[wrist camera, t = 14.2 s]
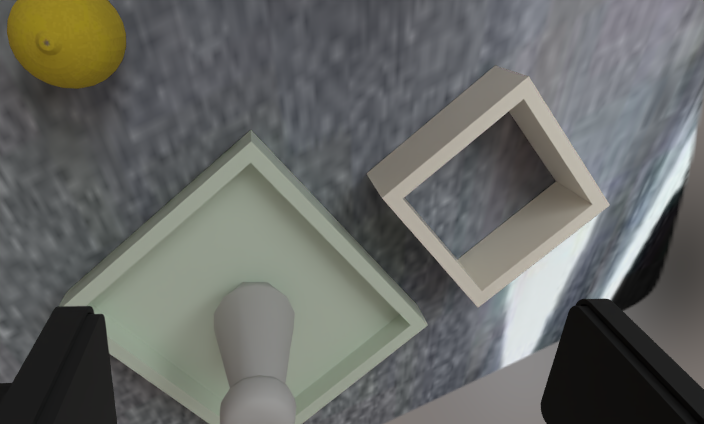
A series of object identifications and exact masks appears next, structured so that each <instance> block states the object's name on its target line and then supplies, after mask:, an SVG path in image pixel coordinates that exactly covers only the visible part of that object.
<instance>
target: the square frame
mask: <svg viewBox="0 0 704 424" xmlns="http://www.w3.org/2000/svg"><path fill="white" fill-rule="evenodd" d="M508 111H509V112H510V114H511V115H512V117H513V118H514V120H515V121H516V123H517V124H518V126H519V127H520V129H521V130H522V132H523V133H524V135H525V136H526V138H527V139H528V141H529V142H530V144H531V145H532V147H533V148H534V150H535V151H536V153H537V154H538V156H539V157H540V158H541V160H542V161H543V163H544V164H545V166H546V167H547V169H548V170H549V172H550V173H551V175H552V176H553V178H554V179H555V181H556V182H555V183H553V184H552V185H551V186H550V187H548V188H547V189H546V190H544V191H543V192H542V193H541V194H539V195H538V196H537V197H536V198H534V199H533V200H532V201H531V202H529V203H528V204H527V205H526V206H524V207H523V208H522V209H521V210H519V211H518V212H517V213H516V214H514V215H513V216H512V217H511V218H509V219H508V220H507V221H505V222H504V223H503V224H502V225H500V226H499V227H498V228H497V229H495V230H494V231H493V232H492V233H490V234H489V235H488V236H487V237H485V238H484V239H483V240H482V241H480V242H479V243H478V244H477V245H475V246H474V247H473V248H471V249H470V250H469V251H468V252H466V253H465V254H464V255H463V256H461V257H460V258H459V259H458V260H457V259H456V257H455V256H454V255H453V254H452V253H451V252H450V250H449V249H448V248H447V247H446V246H445V245H444V243H443V242H442V241H441V240H440V239H439V237H438V236H437V235H436V234H435V233H434V232H433V230H432V229H431V228H430V227H429V226H428V225H427V223H426V222H425V221H424V220H423V219H422V218H421V216H420V215H419V214H418V213H417V212H416V210H415V209H414V208H413V207H412V206H411V205H410V203H409V202H408V201H407V200H406V199H405V198H404V197H405V196H407V195H408V194H409V193H410V192H411V191H413V190H414V189H415V188H416V187H417V186H419V185H420V184H421V183H422V182H424V181H425V180H426V179H427V178H428V177H430V176H431V175H432V174H433V173H434V172H436V171H437V170H438V169H439V168H441V167H442V166H443V165H444V164H445V163H447V162H448V161H449V160H450V159H451V158H453V157H454V156H455V155H456V154H458V153H459V152H460V151H461V150H462V149H464V148H465V147H466V146H467V145H468V144H470V143H471V142H472V141H473V140H475V139H476V138H477V137H478V136H479V135H481V134H482V133H483V132H484V131H485V130H487V129H488V128H489V127H490V126H491V125H493V124H494V123H495V122H496V121H498V120H499V119H500V118H501V117H502V116H504V115H505V114H506V113H507V112H508ZM367 176H368V177H369V179H370V180H371V182H372V183H373V185H374V186H375V188H376V190H377V191H378V193H379V194H380V196H381V197H382V199H383V200H384V201H385V202H386V203H387V204H388V206H389V207H390V208H391V209H392V210H393V211H394V212H395V214H396V215H397V216H398V217H399V218H400V219H401V220H402V222H403V223H404V224H405V225H406V226H407V227H408V228H409V229H410V231H411V232H412V233H413V234H414V235H415V236H416V237H417V239H418V240H419V241H420V242H421V243H422V244H423V245H424V247H425V248H426V249H427V250H428V251H429V252H430V253H431V255H432V256H433V257H434V258H435V259H436V260H437V261H438V263H439V264H440V265H441V266H442V267H443V268H444V269H445V271H446V272H447V273H448V274H449V275H450V276H451V277H452V278H453V280H454V281H455V282H456V283H457V284H458V285H459V286H460V288H461V289H462V290H463V291H464V292H465V293H466V294H467V296H468V297H469V298H470V299H471V300H472V301H473V302H474V304H475V305H476V306H477V307H480V306H481V305H482V304H483V303H485V302H486V301H487V300H489V299H490V298H491V297H492V296H494V295H495V294H496V293H498V292H499V291H500V290H501V289H503V288H504V287H505V286H507V285H508V284H509V283H510V282H512V281H513V280H514V279H516V278H517V277H518V276H519V275H521V274H522V273H523V272H525V271H526V270H527V269H528V268H530V267H531V266H532V265H534V264H535V263H536V262H537V261H539V260H540V259H541V258H543V257H544V256H545V255H546V254H548V253H549V252H550V251H552V250H553V249H554V248H555V247H557V246H558V245H559V244H561V243H562V242H563V241H564V240H566V239H567V238H568V237H570V236H571V235H572V234H573V233H575V232H576V231H577V230H579V229H580V228H581V227H582V226H584V225H585V224H586V223H588V222H589V221H590V220H591V219H593V218H594V217H595V216H597V215H598V214H599V213H600V212H602V211H603V210H604V209H606V208H607V207H608V206H609V203H608V201H607V200H606V198H605V197H604V195H603V194H602V192H601V190H600V189H599V187H598V186H597V184H596V182H595V181H594V179H593V178H592V176H591V175H590V173H589V171H588V170H587V168H586V167H585V165H584V163H583V162H582V160H581V159H580V157H579V155H578V154H577V152H576V151H575V149H574V148H573V146H572V144H571V143H570V141H569V140H568V138H567V136H566V135H565V133H564V132H563V130H562V129H561V127H560V125H559V124H558V122H557V121H556V119H555V117H554V116H553V114H552V113H551V111H550V109H549V108H548V106H547V105H546V103H545V102H544V100H543V98H542V97H541V95H540V94H539V92H538V90H537V89H536V87H535V86H534V84H533V83H532V81H531V79H530V78H529V76H526V75H523V74H520V73H517V72H514V71H511V70H508V69H505V68H501V67H498V66H494V67H493V68H492V69H490V70H489V71H488V72H487V73H486V74H485V75H483V76H482V77H481V78H480V79H479V80H477V81H476V82H475V83H474V84H473V85H471V86H470V87H469V88H468V89H467V90H465V91H464V92H463V93H462V94H461V95H459V96H458V97H457V98H456V99H455V100H454V101H452V102H451V103H450V104H449V105H448V106H446V107H445V108H444V109H443V110H442V111H440V112H439V113H438V114H437V115H436V116H434V117H433V118H432V119H431V120H430V121H429V122H427V123H426V124H425V125H424V126H423V127H421V128H420V129H419V130H418V131H417V132H415V133H414V134H413V135H412V136H411V137H409V138H408V139H407V140H406V141H405V142H403V143H402V144H401V145H400V146H399V147H398V148H396V149H395V150H394V151H393V152H392V153H390V154H389V155H388V156H387V157H386V158H384V159H383V160H382V161H381V162H380V163H378V164H377V165H376V166H375V167H374V168H373V169H371V170H370V171H369V172H368V173H367Z"/></svg>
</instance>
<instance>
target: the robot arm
mask: <svg viewBox="0 0 704 424" xmlns="http://www.w3.org/2000/svg"><path fill="white" fill-rule="evenodd" d="M541 412H542V415H543V418H544V420H545V422H546V423H547V424H704V389H703V388H701V386H699V385H698V384H697V383H696V382H695V381H694V380H693V379H692V378H691V377H690V376H689V375H688V374H687V373H686V372H685V371H684V370H683V369H682V368H681V367H680V366H679V365H678V364H677V363H676V362H675V361H674V360H673V359H672V358H671V357H669V356H668V355H667V354H666V353H665V352H664V351H663V350H662V349H661V348H660V347H659V346H658V345H657V344H656V343H655V342H654V341H653V340H652V339H651V338H650V337H649V336H648V335H647V334H646V333H645V332H644V331H642V330H641V329H640V328H639V327H638V326H637V325H636V324H635V323H634V322H633V321H632V320H631V319H630V318H629V317H628V316H627V315H626V314H625V313H624V312H623V311H622V310H621V309H620V308H619V307H618V306H617V305H616V304H615V303H614V302H612V301H611V300H609V299H582V300H579V301H578V302H577V304H576V306H573V307H572V308H571V309H570V311H569V313H568V316H567V319H566V323H565V326H564V329H563V332H562V335H561V339H560V342H559V345H558V348H557V352H556V355H555V359H554V362H553V365H552V368H551V371H550V374H549V377H548V381H547V384H546V387H545V390H544V394H543V397H542V400H541ZM0 424H117V418H116V410H115V401H114V392H113V383H112V375H111V366H110V357H109V349H108V340H107V331H106V322H105V317H104V315H103V314H94V310H93V308H92V307H91V306H58V307H56V308H55V309H54V311H53V312H52V314H51V316H50V318H49V319H48V321H47V323H46V325H45V326H44V328H43V330H42V332H41V333H40V335H39V337H38V339H37V340H36V342H35V344H34V346H33V348H32V349H31V351H30V353H29V355H28V356H27V358H26V360H25V362H24V363H23V365H22V367H21V369H20V370H19V372H18V374H17V376H16V377H15V379H14V381H13V383H0Z"/></svg>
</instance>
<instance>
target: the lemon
mask: <svg viewBox="0 0 704 424" xmlns="http://www.w3.org/2000/svg"><path fill="white" fill-rule="evenodd" d="M7 35H8V40H9V44H10V47H11V49H12V51H13V53H14V55H15V57H16V59H17V60H18V61H19V62H20V64H21V65H22V66H23V67H24V68H25V69H26V70H27V71H28V72H29V73H31V74H32V75H33V76H34V77H36V78H38V79H40V80H42V81H44V82H46V83H48V84H51V85H54V86H58V87H62V88H77V89H79V88H84V87H89V86H94V85H96V84H98V83H100V82H102V81H104V80H106V79H107V78H108V77H109V76H110V75H112V74H113V73H114V72H115V71H116V70H117V68H118V66H119V65H120V63H121V61H122V60H123V57H124V53H125V49H126V33H125V29H124V25H123V22H122V20H121V18H120V16H119V14H118V12H117V11H116V9H115V8H114V7H113V6H112V5H111V3H110V2H109V1H108V0H17V1H16V3H15V4H14V5H13V7H12V9H11V12H10V15H9V18H8V23H7Z"/></svg>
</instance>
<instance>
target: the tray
mask: <svg viewBox="0 0 704 424" xmlns="http://www.w3.org/2000/svg"><path fill="white" fill-rule="evenodd" d="M243 282H268V283H270V284H271V285H272V286H273V287H275V288H276V289H277V290H279V291H280V292H281V293H283V294H284V295H285V296H287V298H288V300H289V302H290V304H291V306H292V308H293V310H294V312H295V318H294V329H293V335H292V341H291V347H290V354H289V361H288V369H287V376H286V385H287V386H288V387H289V389H290V391H291V393H292V395H293V396H294V398H295V402H296V416H295V424H302V423H304V422H305V421H306V420H307V419H309V418H310V417H311V416H312V415H314V414H315V413H316V412H318V411H319V410H320V409H321V408H323V407H324V406H325V405H327V404H328V403H329V402H330V401H332V400H333V399H334V398H335V397H337V396H338V395H339V394H341V393H342V392H343V391H344V390H346V389H347V388H348V387H350V386H351V385H352V384H353V383H355V382H356V381H357V380H358V379H360V378H361V377H362V376H364V375H365V374H366V373H367V372H369V371H370V370H371V369H372V368H374V367H375V366H376V365H378V364H379V363H380V362H381V361H383V360H384V359H385V358H387V357H388V356H389V355H390V354H392V353H393V352H394V351H395V350H397V349H398V348H399V347H401V346H402V345H403V344H404V343H406V342H407V341H408V340H410V339H411V338H412V337H413V336H415V335H416V334H417V333H418V332H420V331H421V330H422V329H424V328H425V327H426V326H427V325H428V324H427V322H426V320H425V319H424V317H423V315H422V313H421V311H420V309H419V307H418V306H417V304H416V303H415V302H414V301H413V300H412V299H411V298H410V297H409V296H408V295H407V294H406V293H405V291H404V290H403V289H402V288H401V287H400V286H399V285H398V284H397V283H396V282H395V281H394V280H393V279H392V278H391V277H390V276H389V275H388V274H387V273H386V271H385V270H384V269H383V268H382V267H381V266H380V265H379V264H378V263H377V262H376V261H375V260H374V259H373V258H372V257H371V256H370V255H369V254H368V253H367V251H366V250H365V249H364V248H363V247H362V246H361V245H360V244H359V243H358V242H357V241H356V240H355V239H354V238H353V237H352V236H351V235H350V234H349V233H348V231H347V230H346V229H345V228H344V227H343V226H342V225H341V224H340V223H339V222H338V221H337V220H336V219H335V218H334V217H333V216H332V215H331V214H330V213H329V211H328V210H327V209H326V208H325V207H324V206H323V205H322V204H321V203H320V202H319V201H318V200H317V199H316V198H315V197H314V196H313V195H312V194H311V193H310V191H309V190H308V189H307V188H306V187H305V186H304V185H303V184H302V183H301V182H300V181H299V180H298V179H297V178H296V177H295V176H294V175H293V174H292V173H291V171H290V170H289V169H288V168H287V167H286V166H285V165H284V164H283V163H282V162H281V161H280V160H279V159H278V158H277V157H276V156H275V155H274V154H273V153H272V152H271V150H270V149H269V148H268V147H267V146H266V145H265V144H264V143H263V142H262V141H261V140H260V139H259V138H258V137H257V136H256V135H255V134H254V133H253V132H252V130H250V131H249V132H248V133H247V134H245V135H244V136H243V137H242V138H241V139H240V140H239V141H237V142H236V143H235V144H234V145H233V146H232V147H231V148H230V149H228V150H227V151H226V152H225V153H224V154H223V155H222V156H220V157H219V158H218V159H217V160H216V161H215V162H214V163H212V164H211V165H210V166H209V167H208V168H207V169H206V170H205V171H203V172H202V173H201V174H200V175H199V176H198V177H197V178H195V179H194V180H193V181H192V182H191V183H190V184H189V185H187V186H186V187H185V188H184V189H183V190H182V191H181V192H180V193H178V194H177V195H176V196H175V197H174V198H173V199H172V200H170V201H169V202H168V203H167V204H166V205H165V206H164V207H162V208H161V209H160V210H159V211H158V212H157V213H156V214H155V215H153V216H152V217H151V218H150V219H149V220H148V221H147V222H145V223H144V224H143V225H142V226H141V227H140V228H139V229H137V230H136V231H135V232H134V233H133V234H132V235H131V236H130V237H128V238H127V239H126V240H125V241H124V242H123V243H122V244H120V245H119V246H118V247H117V248H116V249H115V250H114V251H112V252H111V253H110V254H109V255H108V256H107V257H106V258H105V259H103V260H102V261H101V262H100V263H99V264H98V265H97V266H95V267H94V268H93V269H92V270H91V271H90V272H89V273H87V274H86V275H85V276H84V277H83V278H82V279H81V280H80V281H78V282H77V283H76V284H75V285H74V286H73V287H72V288H70V289H69V290H68V291H67V292H66V294H65V296H64V298H63V299H62V301H61V303H60V305H59V306H91V307H92V308H93V310H94V314H103V315H104V317H105V322H106V331H107V340H108V349H109V354H111V355H112V356H114V357H115V358H116V359H118V360H119V361H121V362H122V363H124V364H125V365H126V366H128V367H129V368H131V369H132V370H134V371H135V372H136V373H138V374H139V375H141V376H142V377H143V378H145V379H146V380H148V381H149V382H151V383H152V384H153V385H155V386H156V387H158V388H159V389H161V390H162V391H163V392H165V393H166V394H168V395H169V396H170V397H172V398H173V399H175V400H176V401H178V402H179V403H180V404H182V405H183V406H185V407H186V408H188V409H189V410H190V411H192V412H193V413H195V414H196V415H198V416H199V417H200V418H202V419H203V420H205V421H206V422H207V423H209V424H220V407H221V402H222V400H223V398H224V397H225V395H226V394H227V392H228V391H229V389H230V387H229V383H228V380H227V376H226V372H225V369H224V365H223V361H222V357H221V354H220V350H219V346H218V343H217V339H216V335H215V331H214V313H215V310H216V309H217V307H218V306H219V304H220V302H221V301H222V299H223V297H224V296H226V295H227V294H229V293H230V292H231V291H233V290H234V289H236V288H237V287H238V286H239V285H241V284H242V283H243Z"/></svg>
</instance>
